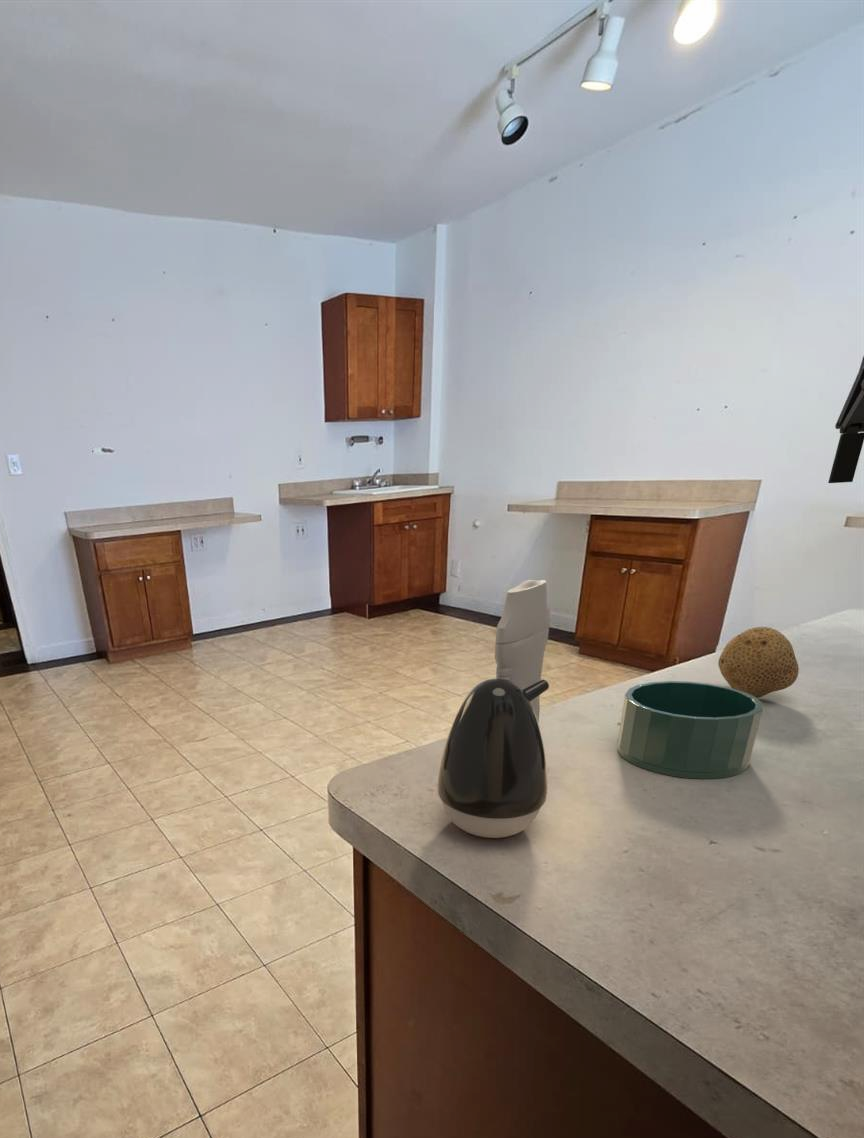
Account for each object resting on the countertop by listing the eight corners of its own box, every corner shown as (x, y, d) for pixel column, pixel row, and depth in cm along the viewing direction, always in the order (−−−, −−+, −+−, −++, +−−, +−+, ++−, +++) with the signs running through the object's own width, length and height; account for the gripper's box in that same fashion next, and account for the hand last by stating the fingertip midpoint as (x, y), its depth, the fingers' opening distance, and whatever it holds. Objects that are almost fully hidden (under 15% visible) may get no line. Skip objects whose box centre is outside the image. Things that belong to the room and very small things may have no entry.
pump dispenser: (567, 838, 61) (587, 685, 54) (470, 861, 58) (479, 704, 52) (505, 793, 70) (515, 658, 63) (419, 812, 67) (421, 673, 61)
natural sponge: (701, 686, 96) (714, 620, 92) (767, 686, 94) (785, 619, 90) (725, 706, 88) (742, 635, 84) (799, 706, 86) (819, 633, 82)
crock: (729, 736, 79) (742, 682, 76) (765, 783, 68) (782, 722, 65) (610, 731, 83) (618, 679, 80) (625, 774, 72) (635, 716, 69)
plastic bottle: (516, 756, 78) (532, 571, 69) (548, 764, 76) (570, 573, 66) (471, 786, 72) (482, 587, 63) (505, 797, 69) (522, 590, 60)
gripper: (834, 321, 91) (795, 483, 100) (931, 280, 70) (871, 489, 79) (899, 314, 89) (853, 479, 98) (1020, 268, 68) (947, 485, 77)
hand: (861, 484), depth 88 cm, fingers open, 13 cm apart
